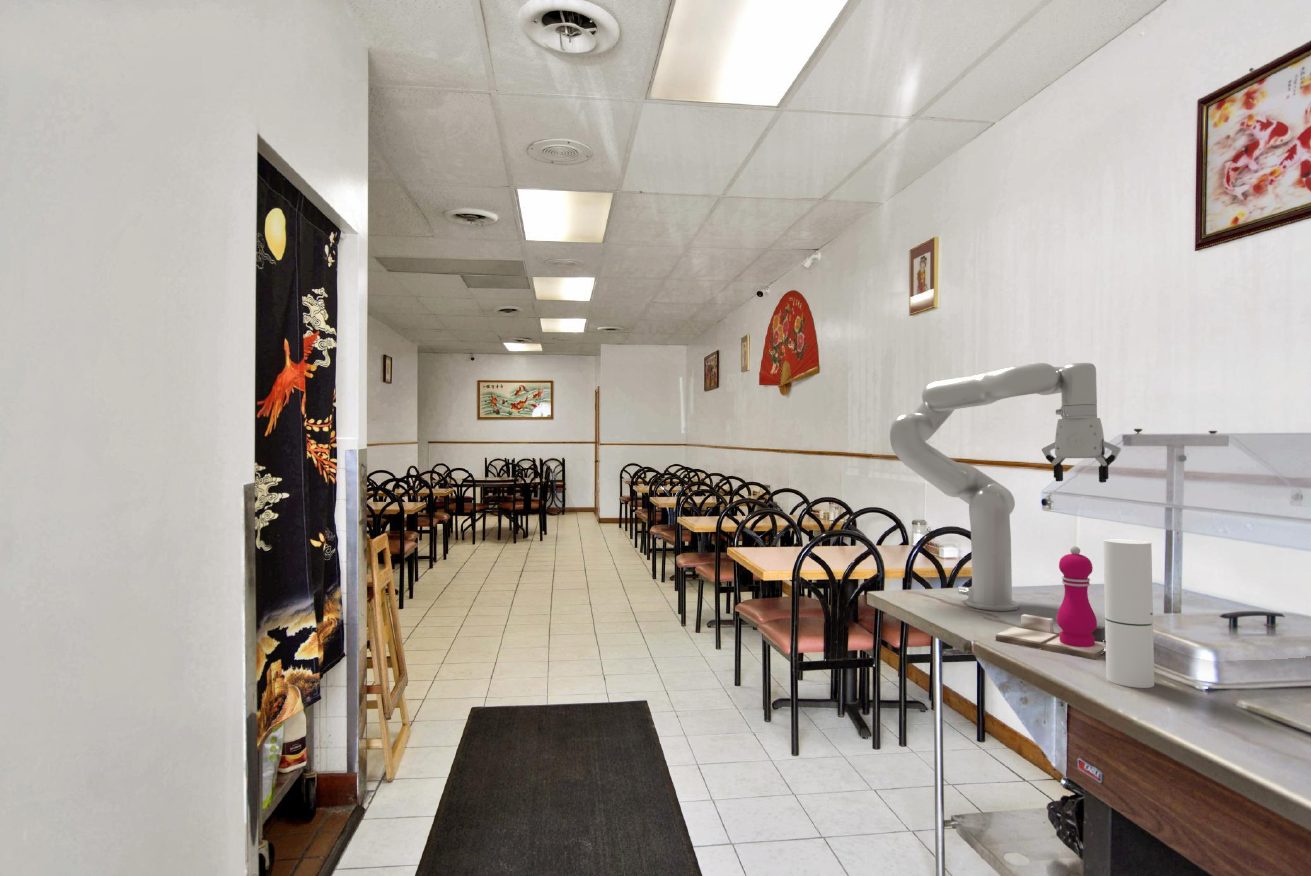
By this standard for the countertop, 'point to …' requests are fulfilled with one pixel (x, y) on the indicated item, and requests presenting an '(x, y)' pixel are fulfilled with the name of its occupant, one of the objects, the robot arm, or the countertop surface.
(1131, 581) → the cylindrical container
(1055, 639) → the board
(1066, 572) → the pepper mill
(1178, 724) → the countertop surface
